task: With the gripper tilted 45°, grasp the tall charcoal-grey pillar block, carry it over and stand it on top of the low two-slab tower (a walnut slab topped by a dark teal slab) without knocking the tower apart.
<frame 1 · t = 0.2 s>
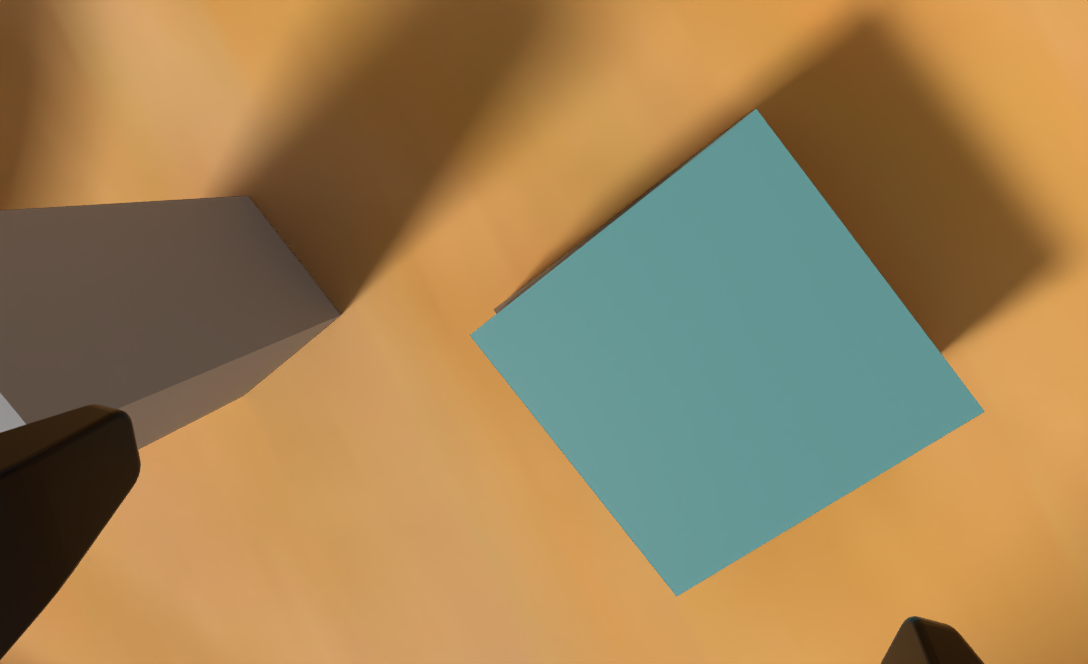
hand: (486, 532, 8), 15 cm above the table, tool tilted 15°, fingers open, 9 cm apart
teal slab: (710, 349, 21), point 2 cm above the table, touching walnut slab
grey pillar block: (245, 299, 25), on the table
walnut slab: (708, 326, 23), on the table, touching teal slab
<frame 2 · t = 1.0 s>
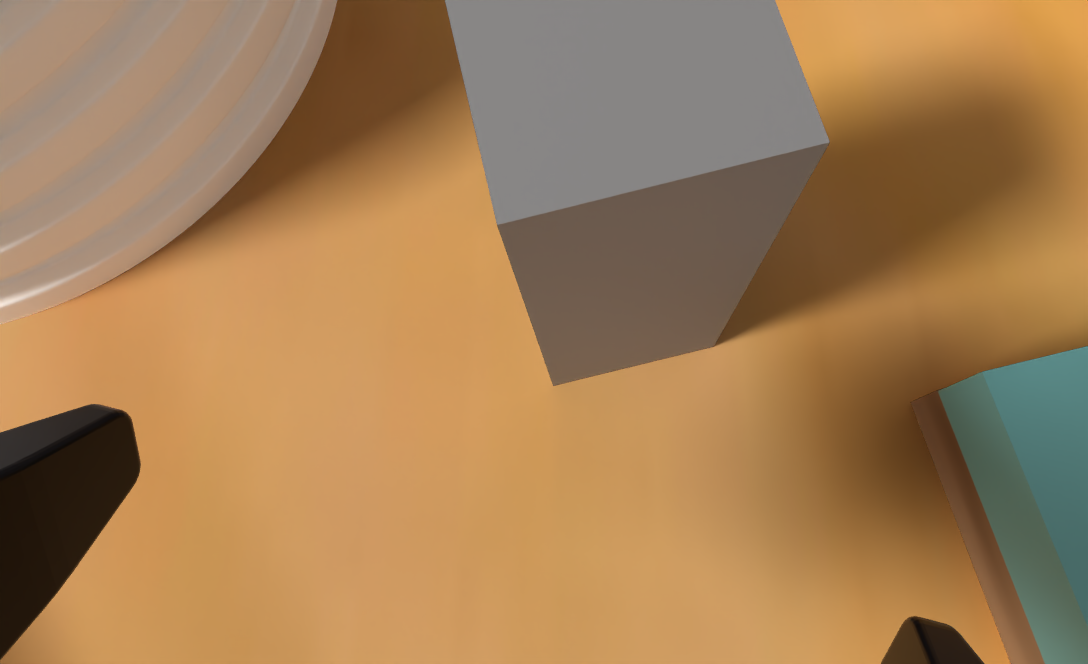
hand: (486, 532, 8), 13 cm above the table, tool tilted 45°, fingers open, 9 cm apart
grey pillar block: (612, 290, 23), on the table
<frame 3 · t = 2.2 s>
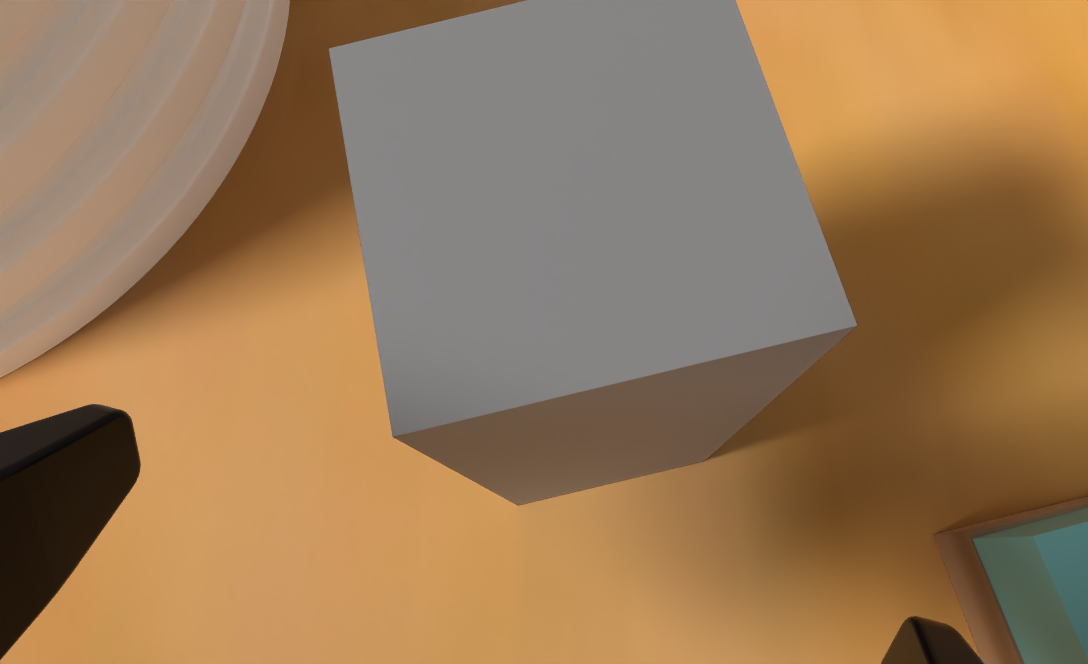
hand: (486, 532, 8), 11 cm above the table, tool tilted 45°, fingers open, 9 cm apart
grey pillar block: (588, 391, 20), on the table
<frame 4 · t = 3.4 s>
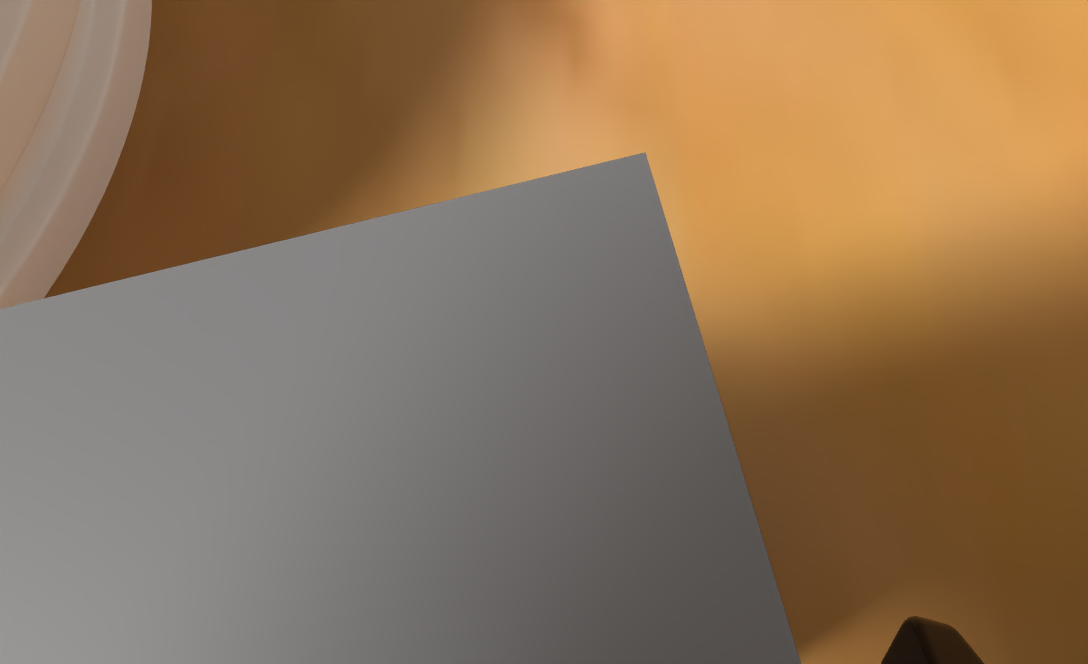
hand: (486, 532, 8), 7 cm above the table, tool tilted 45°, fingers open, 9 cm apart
grey pillar block: (520, 607, 14), on the table
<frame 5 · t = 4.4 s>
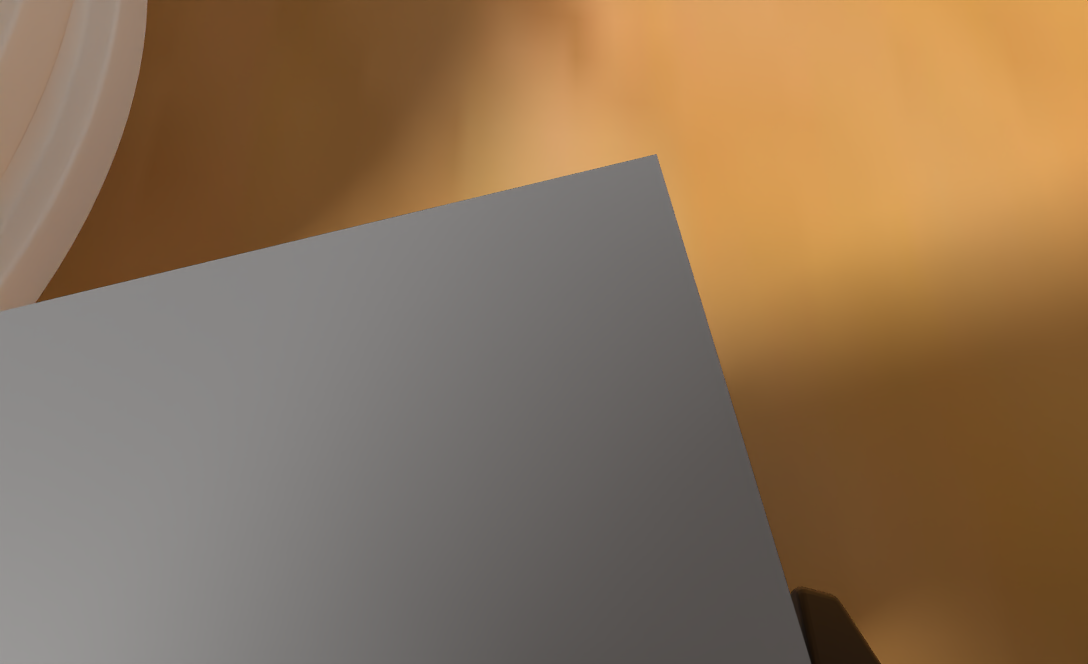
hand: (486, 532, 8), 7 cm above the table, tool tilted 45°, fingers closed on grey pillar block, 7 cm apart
grey pillar block: (521, 611, 14), on the table, touching gripper
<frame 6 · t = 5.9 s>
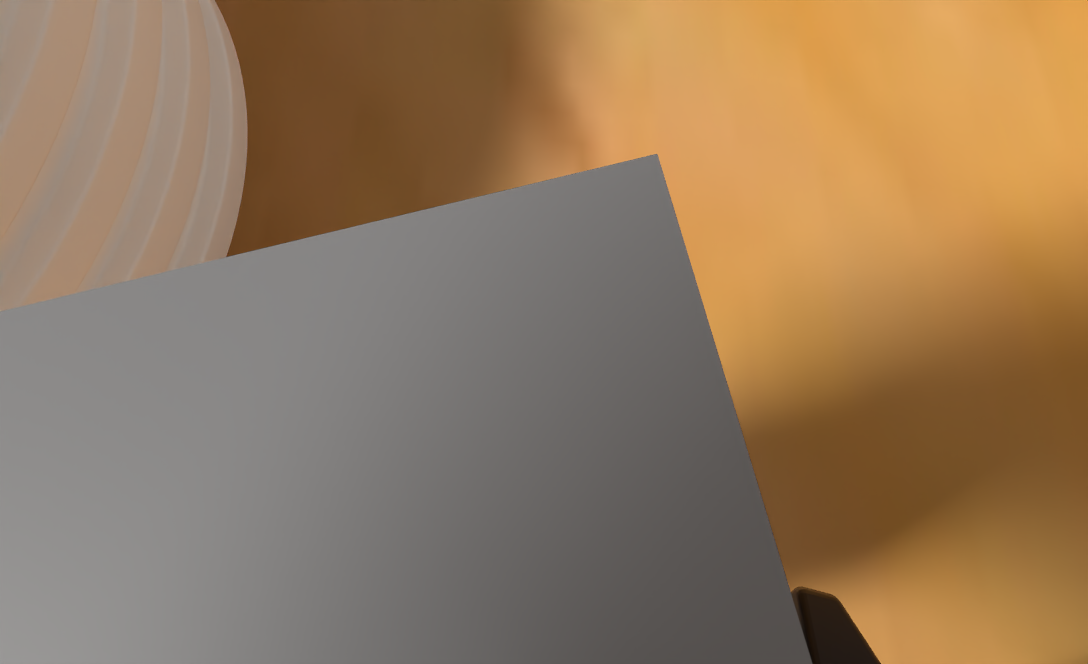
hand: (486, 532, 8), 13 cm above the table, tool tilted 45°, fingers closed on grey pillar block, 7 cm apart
grey pillar block: (521, 611, 14), point 6 cm above the table, touching gripper
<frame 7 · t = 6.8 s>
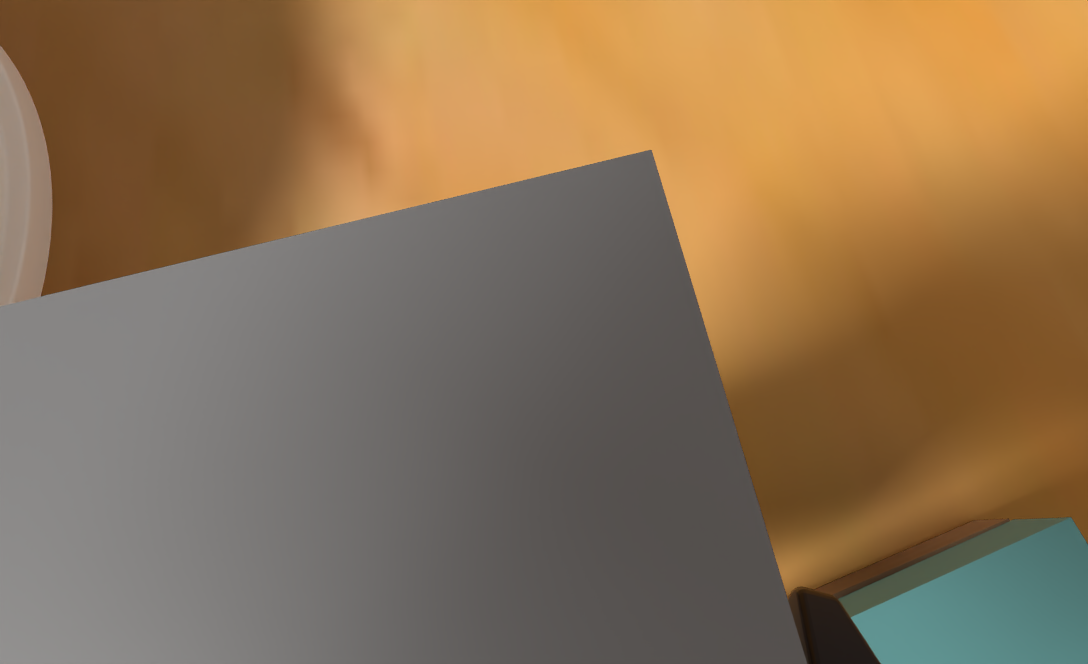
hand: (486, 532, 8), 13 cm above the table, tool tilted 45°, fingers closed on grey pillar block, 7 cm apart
grey pillar block: (520, 610, 14), point 7 cm above the table, touching gripper
when the fingers open (12 cm above the table, at t = 9.2 s): grey pillar block drops 2 cm, resting on teal slab.
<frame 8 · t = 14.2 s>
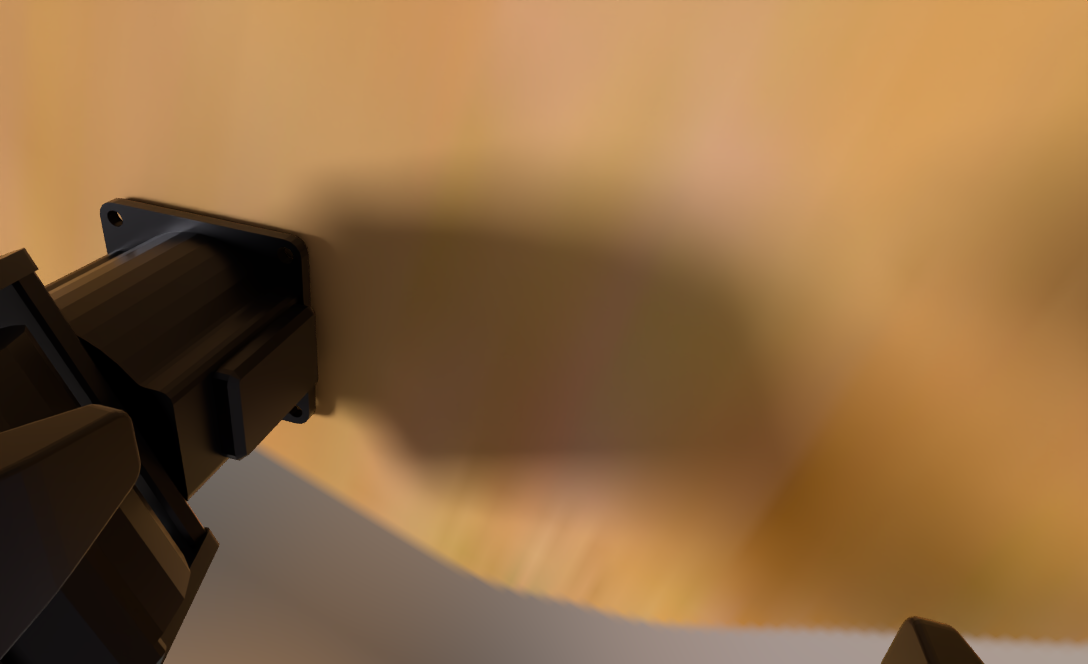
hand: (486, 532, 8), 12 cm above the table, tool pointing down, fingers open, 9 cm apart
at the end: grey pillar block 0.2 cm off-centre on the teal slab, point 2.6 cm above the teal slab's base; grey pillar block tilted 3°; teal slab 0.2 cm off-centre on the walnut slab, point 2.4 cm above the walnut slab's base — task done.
